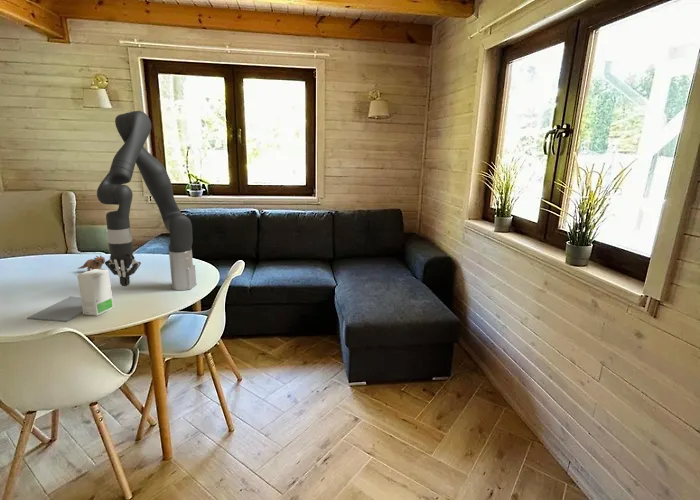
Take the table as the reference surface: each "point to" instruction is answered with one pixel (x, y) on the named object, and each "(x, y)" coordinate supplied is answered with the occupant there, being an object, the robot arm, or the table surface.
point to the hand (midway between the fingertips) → (125, 285)
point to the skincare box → (95, 291)
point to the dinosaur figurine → (94, 263)
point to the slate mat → (60, 310)
